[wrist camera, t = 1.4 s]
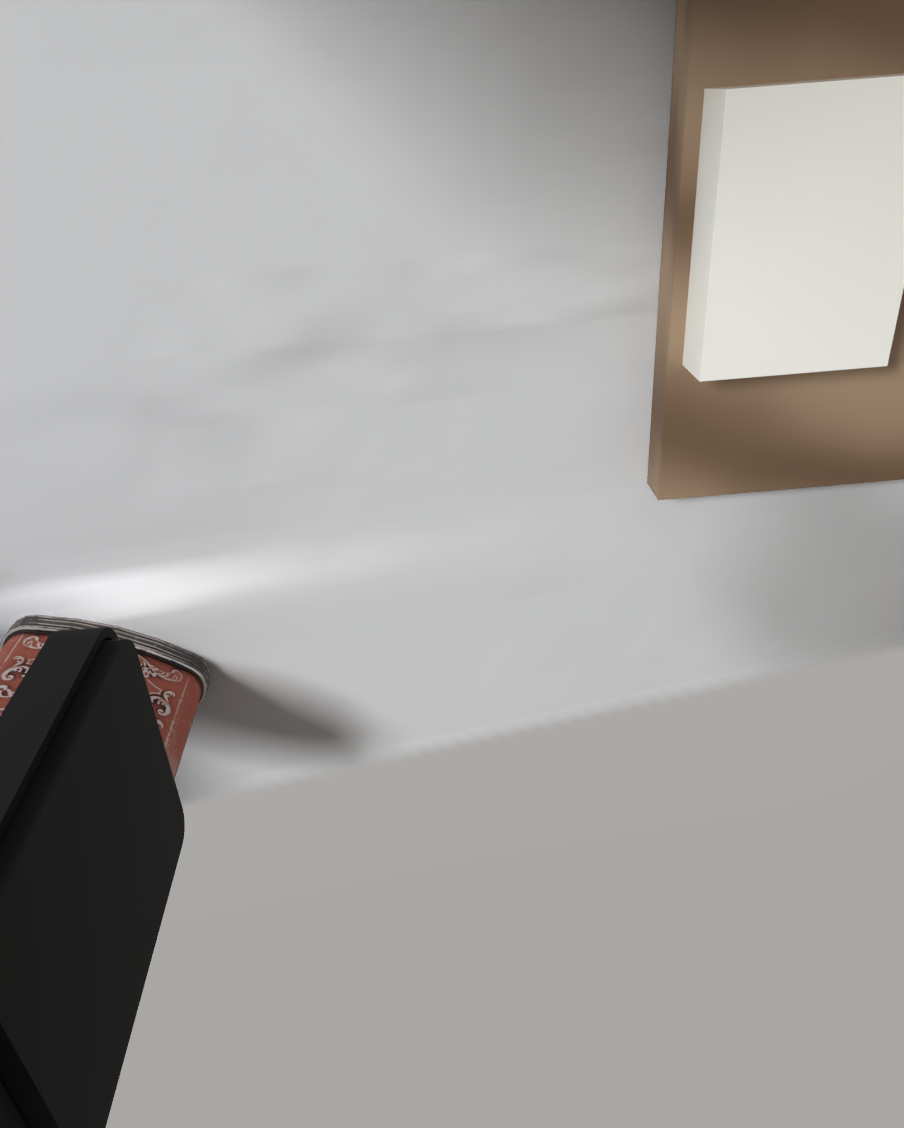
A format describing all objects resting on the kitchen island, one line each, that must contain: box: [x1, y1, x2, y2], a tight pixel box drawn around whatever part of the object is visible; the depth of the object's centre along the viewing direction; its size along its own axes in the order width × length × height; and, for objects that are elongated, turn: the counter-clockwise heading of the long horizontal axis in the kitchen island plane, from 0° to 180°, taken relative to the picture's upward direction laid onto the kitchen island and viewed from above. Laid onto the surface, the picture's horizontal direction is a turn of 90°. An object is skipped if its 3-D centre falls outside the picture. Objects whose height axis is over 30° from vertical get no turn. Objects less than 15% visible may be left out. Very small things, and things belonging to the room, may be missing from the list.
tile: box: [682, 73, 904, 382], centre depth 25 cm, size 8×6×2 cm
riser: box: [647, 0, 904, 500], centre depth 26 cm, size 18×10×2 cm, turn 4°
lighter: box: [0, 615, 210, 779], centre depth 30 cm, size 8×3×10 cm, turn 70°
